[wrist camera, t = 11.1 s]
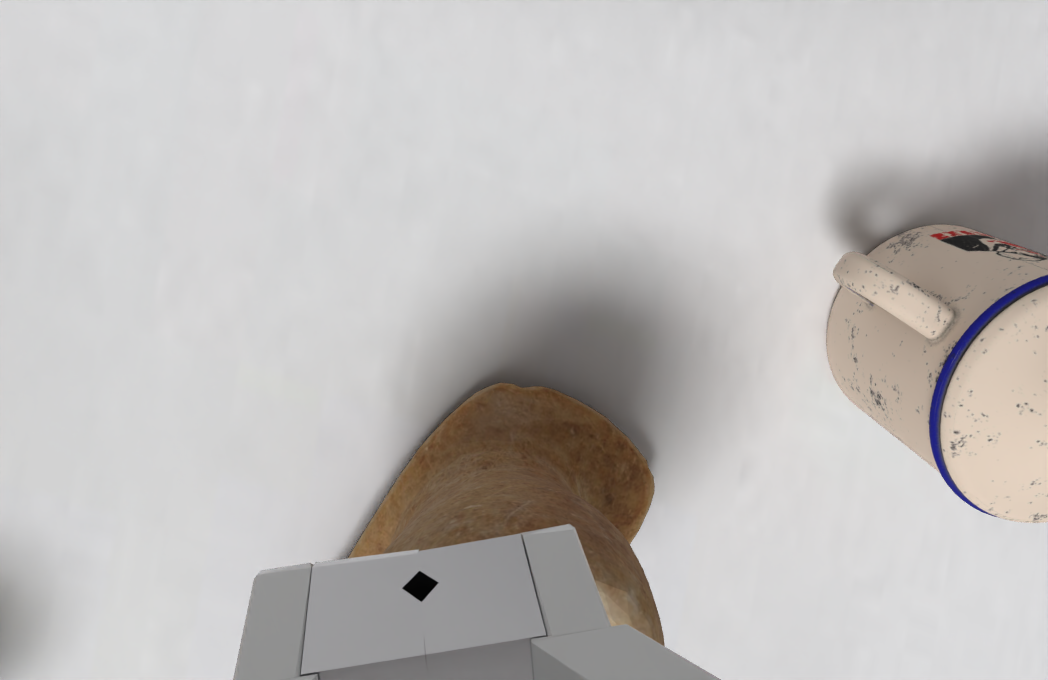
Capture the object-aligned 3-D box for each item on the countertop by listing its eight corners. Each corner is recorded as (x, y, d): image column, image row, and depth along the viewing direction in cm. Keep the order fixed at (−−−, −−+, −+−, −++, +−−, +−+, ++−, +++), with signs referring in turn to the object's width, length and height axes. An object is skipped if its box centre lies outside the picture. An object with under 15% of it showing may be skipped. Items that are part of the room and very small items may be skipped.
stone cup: (447, 308, 36) (499, 495, 22) (678, 456, 40) (848, 696, 26) (238, 601, 39) (165, 934, 25) (473, 714, 42) (525, 1059, 28)
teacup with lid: (1060, 285, 40) (1320, 387, 29) (927, 456, 42) (1125, 612, 31) (856, 134, 36) (1066, 185, 25) (720, 327, 38) (862, 453, 27)
